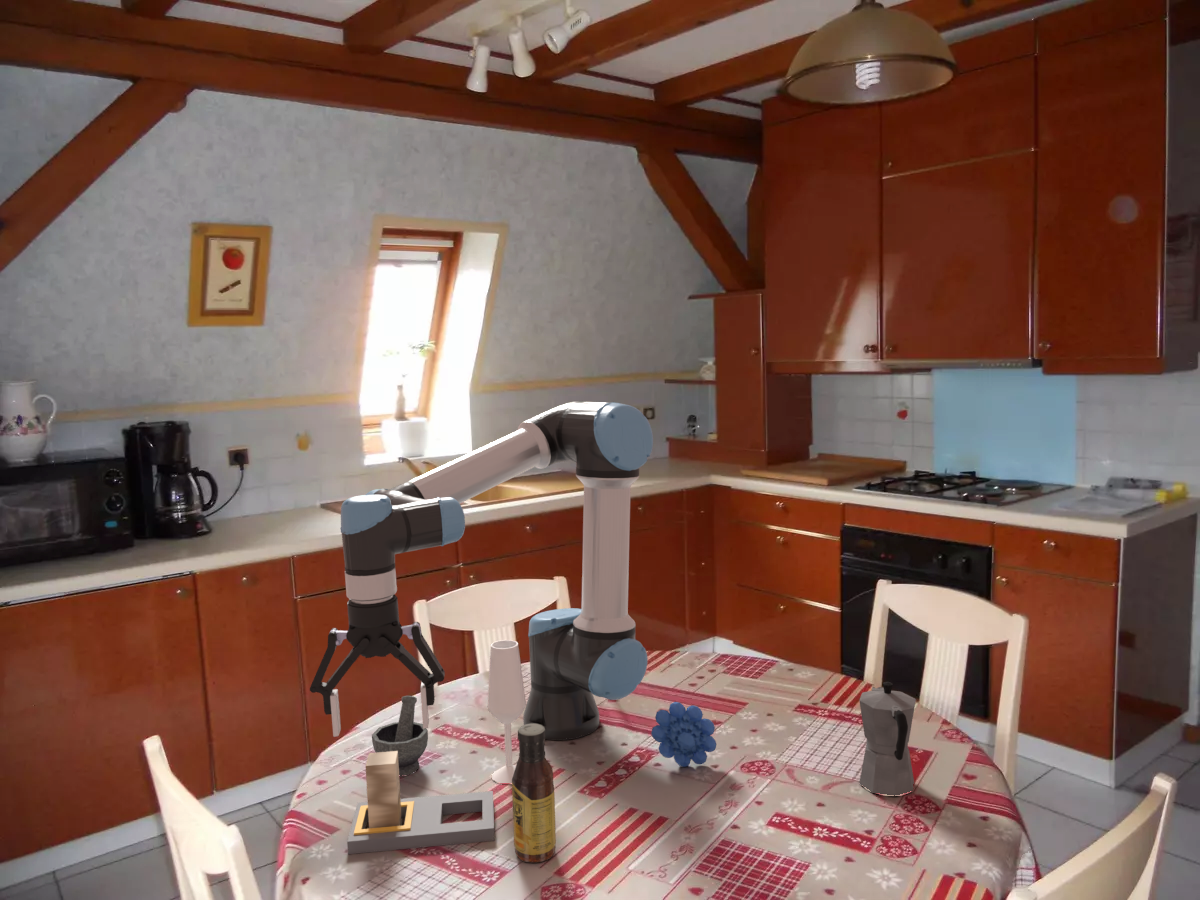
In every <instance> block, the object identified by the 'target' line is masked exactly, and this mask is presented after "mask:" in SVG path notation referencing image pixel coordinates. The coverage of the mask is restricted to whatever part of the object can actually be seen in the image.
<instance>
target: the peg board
mask: <svg viewBox="0 0 1200 900" xmlns="http://www.w3.org/2000/svg"><path fill="white" fill-rule="evenodd" d="M400 799H401V818H402V820H403V819H404V824H403V825H401V826H392V827H381V828H370V829H369V828H366V827H367V823H369V817H368V801H360V802H357V803H356V807H355V811H354V814H353V819H352V823H351V825H350V830H349V834H348V837H347V841H346V845H347V854H348V855H353V854H361V853H362V854H363V853H374V852H375V853H376V852H385V851H395V850H396V851H397V850H405V849H418V848H419V849H420V848H426V847H427V848H429V847H438V846H452V845H459V844H460V845H461V844H472V843H479V842H480V843H483V842H491V841H492V842H493V841H496V840H495V814H494V813H495V812H494V791H493V790H489V791H487V790H486V791H475V792H474V791H473V792H465V793H464V792H463V793H451V794H441V795H440V794H439V795H431V796H430V795H428V796H418V797H417V796H416V797H408V798H407V797H406V798H400ZM478 812H479V813H480V812H481V813H482V817H481V818H482V819H479V820H469V821H468V820H467V821H459V822H457V821H456V822H447V823H443V817H444V816H445V815H446V816H447V815H456V814H458V815H459V814H469V813H478Z"/></svg>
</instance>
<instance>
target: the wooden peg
mask: <svg viewBox="0 0 1200 900" xmlns="http://www.w3.org/2000/svg"><path fill="white" fill-rule="evenodd" d="M365 778H366V779H365V780H366V781H365V782H366V796H367V799H366V800H367V802H368V817H369V822H368V829H370V828H381V827H392V826H402V823H403V822H402V821H403V819H402V818H401V799H402V798H401V785H400V784H401V783H400V777H399V763H398V751H389V752H377V753H376V752H368V755H367V759H366V763H365Z"/></svg>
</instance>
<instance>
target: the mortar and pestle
mask: <svg viewBox="0 0 1200 900" xmlns="http://www.w3.org/2000/svg"><path fill="white" fill-rule="evenodd" d="M400 701H401V707H400V712H399V713H400V714H399V718H398V721H396V722H391V723H388V724H384V726H380V727H378V728H377V729H376V730H375V731H374V732H373V733H372V734H371V741H372V747H373V749H374V753H377V752H389V751H398V763H399V775H400V777H403V776H402V775H407V776H409V775H408V774H410V775H412V774H414V773H413V772H415V771H416V770H417V769H420V763H419V759H420V758H421V757H422V755H423V754H424V753H425V750H426V748H428V747H427V746H428V742H429V730H428V728H424V729H423V723H421V722H420V723H419V722H415V721H414V720H415V709H416V703H417V702H418V698H417V697H415V696H413V695H404V696H401V700H400ZM417 771H418V770H417ZM417 771H416V772H417ZM416 772H415V773H416ZM411 773H412V774H411Z"/></svg>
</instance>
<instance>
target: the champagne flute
mask: <svg viewBox="0 0 1200 900" xmlns="http://www.w3.org/2000/svg"><path fill="white" fill-rule="evenodd" d="M489 653H490V654H489V655H490V656H489V671H488V672H489V673H488V687H487V688H488V690H487V693H488V695H487V710H488V711H489V714H491V716H492V717H493V719H496V720H497V721H498V722H499V723H500V724H503V725H504V726H503V728H504V751H505V753H504V754H505V755H504V756H505V765H504V766H502V767H500V768H498V769H497V770H494V771H493V772H494V773H493V772H492V773H493V774H492V773H491V775H492V779H493V780H495V781H497V782H500V783H512V778H513V775H514V771H515V768H516V765H515V764H513V748H512V747H513V743H512V741H513V740H512V723H514V722H515V721H516V720H517V719H518V718H519V717H520V716H521V715H522V714H523V713H524V711H525V708H526V704H527V700H526V699H527V698H526V693H525V686H524V677H523V671H522V663H521V657H520V649H519V643H518V641H515V640H512V639H501V640H500V639H499V640H496V641H494V642H492V643H491V644H490V652H489Z"/></svg>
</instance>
